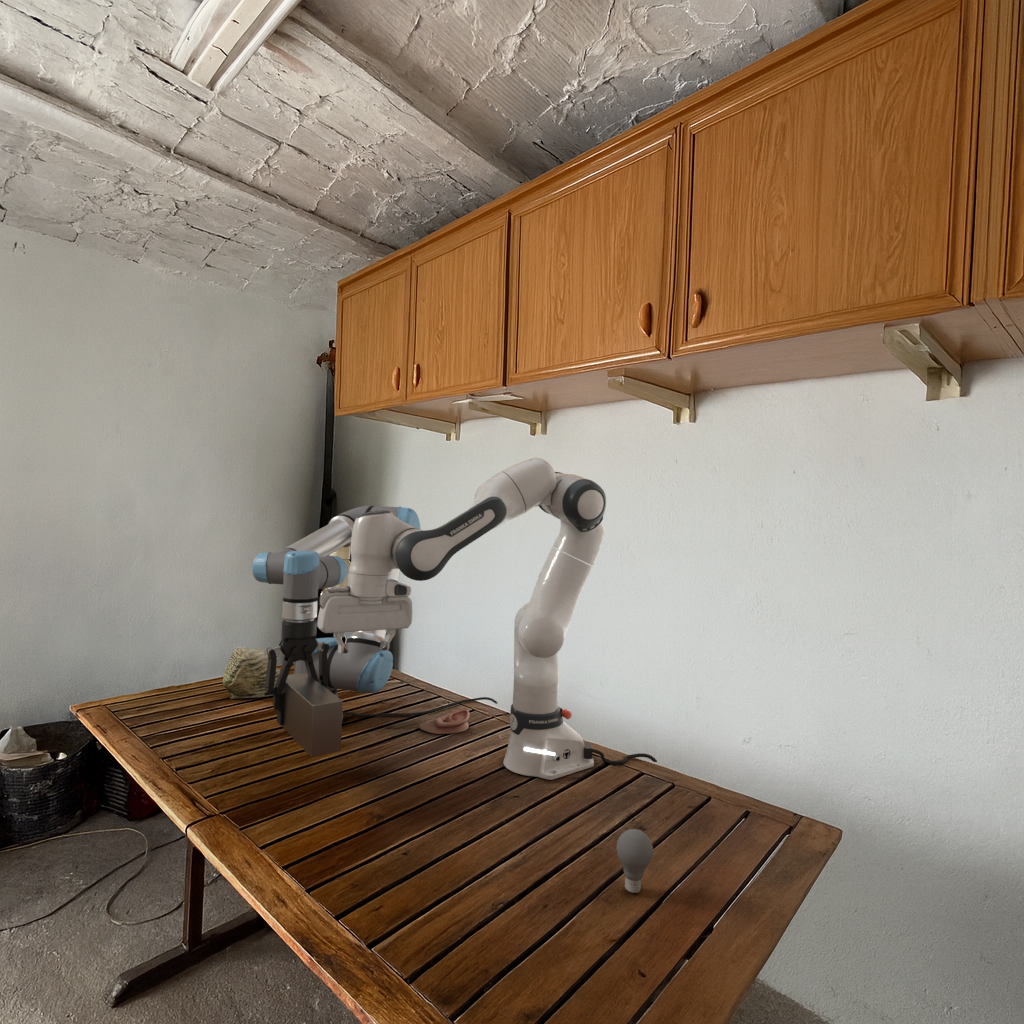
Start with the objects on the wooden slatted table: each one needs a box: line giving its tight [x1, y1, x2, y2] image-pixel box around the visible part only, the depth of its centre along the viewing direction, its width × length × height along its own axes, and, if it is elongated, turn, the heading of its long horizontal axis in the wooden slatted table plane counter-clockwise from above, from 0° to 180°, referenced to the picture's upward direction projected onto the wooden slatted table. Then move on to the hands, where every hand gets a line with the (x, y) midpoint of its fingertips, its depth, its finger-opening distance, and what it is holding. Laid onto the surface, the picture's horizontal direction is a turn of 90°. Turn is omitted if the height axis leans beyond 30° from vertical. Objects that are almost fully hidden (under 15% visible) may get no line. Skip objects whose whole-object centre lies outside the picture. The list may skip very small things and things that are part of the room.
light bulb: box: [615, 828, 654, 894], centre depth 106 cm, size 6×6×10 cm
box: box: [280, 673, 344, 758], centre depth 137 cm, size 23×6×10 cm, turn 36°
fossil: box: [222, 646, 280, 699], centre depth 198 cm, size 9×18×15 cm, turn 132°
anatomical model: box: [418, 709, 471, 735], centre depth 177 cm, size 13×4×12 cm
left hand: (295, 720), depth 144 cm, fingers closed on box, 6 cm apart
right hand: (364, 651), depth 135 cm, fingers open, 8 cm apart
